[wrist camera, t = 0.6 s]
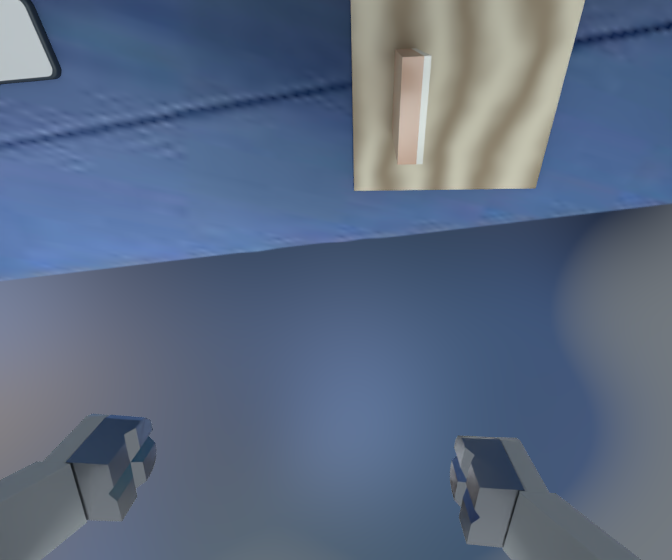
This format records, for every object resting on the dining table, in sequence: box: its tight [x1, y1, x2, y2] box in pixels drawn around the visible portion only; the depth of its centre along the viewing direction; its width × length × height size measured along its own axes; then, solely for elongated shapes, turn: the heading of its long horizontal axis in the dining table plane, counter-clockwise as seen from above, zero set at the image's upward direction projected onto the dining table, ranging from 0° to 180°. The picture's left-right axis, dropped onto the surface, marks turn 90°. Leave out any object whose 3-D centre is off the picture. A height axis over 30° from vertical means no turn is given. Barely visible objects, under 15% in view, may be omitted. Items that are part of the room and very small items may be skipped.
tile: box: [392, 48, 432, 165], centre depth 39 cm, size 9×2×13 cm, turn 3°
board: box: [351, 0, 585, 191], centre depth 44 cm, size 24×24×1 cm
